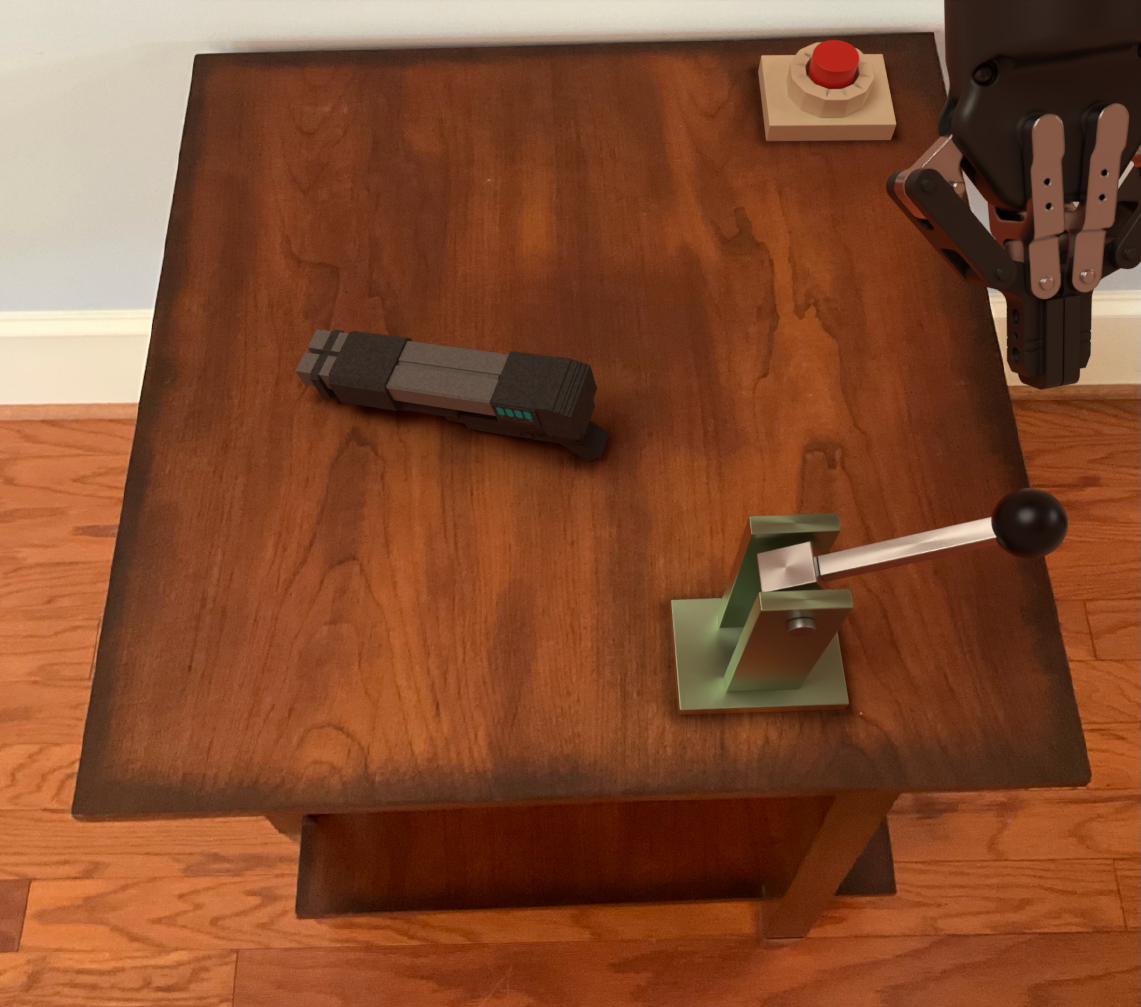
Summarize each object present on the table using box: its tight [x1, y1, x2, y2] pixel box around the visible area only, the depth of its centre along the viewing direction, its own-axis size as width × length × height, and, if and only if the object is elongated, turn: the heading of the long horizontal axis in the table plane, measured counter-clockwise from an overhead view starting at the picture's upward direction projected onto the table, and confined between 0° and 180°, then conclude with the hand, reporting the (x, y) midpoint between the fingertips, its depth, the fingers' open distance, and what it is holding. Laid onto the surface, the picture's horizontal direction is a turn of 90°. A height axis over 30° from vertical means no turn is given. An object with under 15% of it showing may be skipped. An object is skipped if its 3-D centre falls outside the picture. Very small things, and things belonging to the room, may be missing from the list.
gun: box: [294, 328, 610, 462], centre depth 68 cm, size 4×20×10 cm, turn 73°
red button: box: [809, 39, 859, 89], centre depth 79 cm, size 4×4×2 cm
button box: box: [757, 41, 897, 142], centre depth 81 cm, size 10×8×4 cm
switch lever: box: [757, 487, 1069, 592], centre depth 48 cm, size 14×3×3 cm, turn 92°
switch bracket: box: [668, 512, 854, 716], centre depth 55 cm, size 10×7×15 cm
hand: (1048, 382), depth 42 cm, fingers closed
